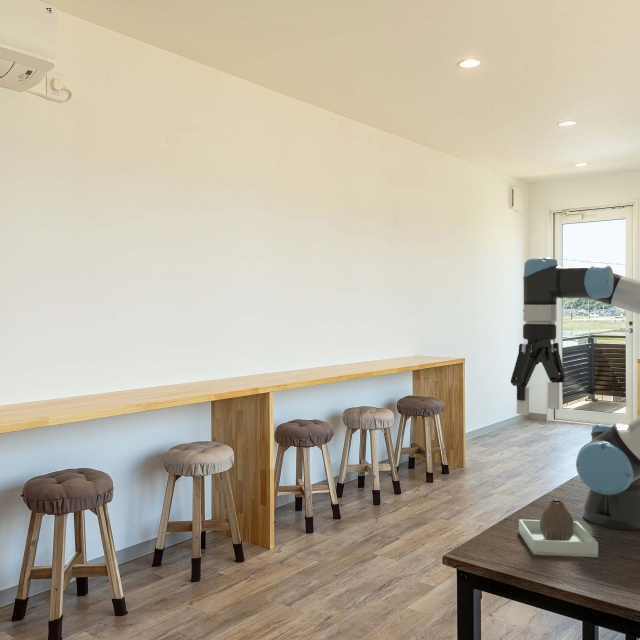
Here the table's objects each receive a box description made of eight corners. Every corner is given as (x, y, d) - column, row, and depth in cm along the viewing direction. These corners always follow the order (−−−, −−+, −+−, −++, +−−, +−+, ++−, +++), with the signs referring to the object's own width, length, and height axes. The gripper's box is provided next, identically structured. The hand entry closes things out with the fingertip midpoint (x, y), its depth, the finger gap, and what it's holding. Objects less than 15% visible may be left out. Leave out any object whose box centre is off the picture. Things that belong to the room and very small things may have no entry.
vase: (580, 542, 134) (580, 502, 133) (561, 549, 130) (561, 508, 129) (551, 533, 139) (552, 494, 139) (533, 539, 135) (533, 499, 135)
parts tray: (577, 534, 140) (577, 521, 140) (597, 557, 127) (598, 542, 127) (518, 532, 141) (518, 519, 141) (533, 554, 128) (533, 540, 128)
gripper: (552, 322, 158) (551, 404, 159) (495, 323, 142) (494, 414, 143) (580, 323, 153) (579, 408, 153) (524, 323, 137) (523, 419, 137)
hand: (538, 411), depth 148 cm, fingers open, 13 cm apart
